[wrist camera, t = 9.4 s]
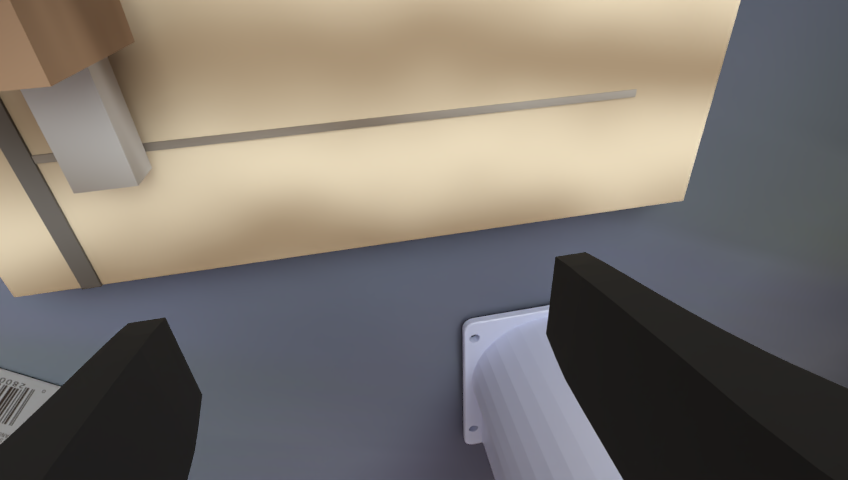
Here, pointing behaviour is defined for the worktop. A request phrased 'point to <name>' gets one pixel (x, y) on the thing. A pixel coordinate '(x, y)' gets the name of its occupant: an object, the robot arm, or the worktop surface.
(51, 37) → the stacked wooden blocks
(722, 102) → the worktop surface
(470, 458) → the worktop surface
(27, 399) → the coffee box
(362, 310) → the worktop surface
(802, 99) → the worktop surface
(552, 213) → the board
